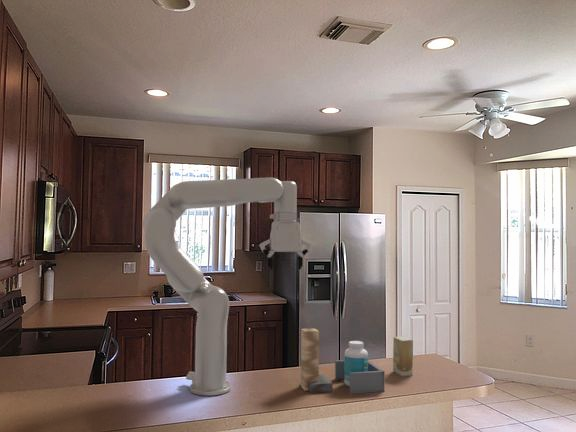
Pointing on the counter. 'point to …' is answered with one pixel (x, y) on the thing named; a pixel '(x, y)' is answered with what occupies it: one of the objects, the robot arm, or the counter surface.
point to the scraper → (312, 363)
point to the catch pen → (362, 378)
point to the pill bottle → (355, 359)
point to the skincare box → (403, 356)
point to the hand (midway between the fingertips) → (284, 269)
